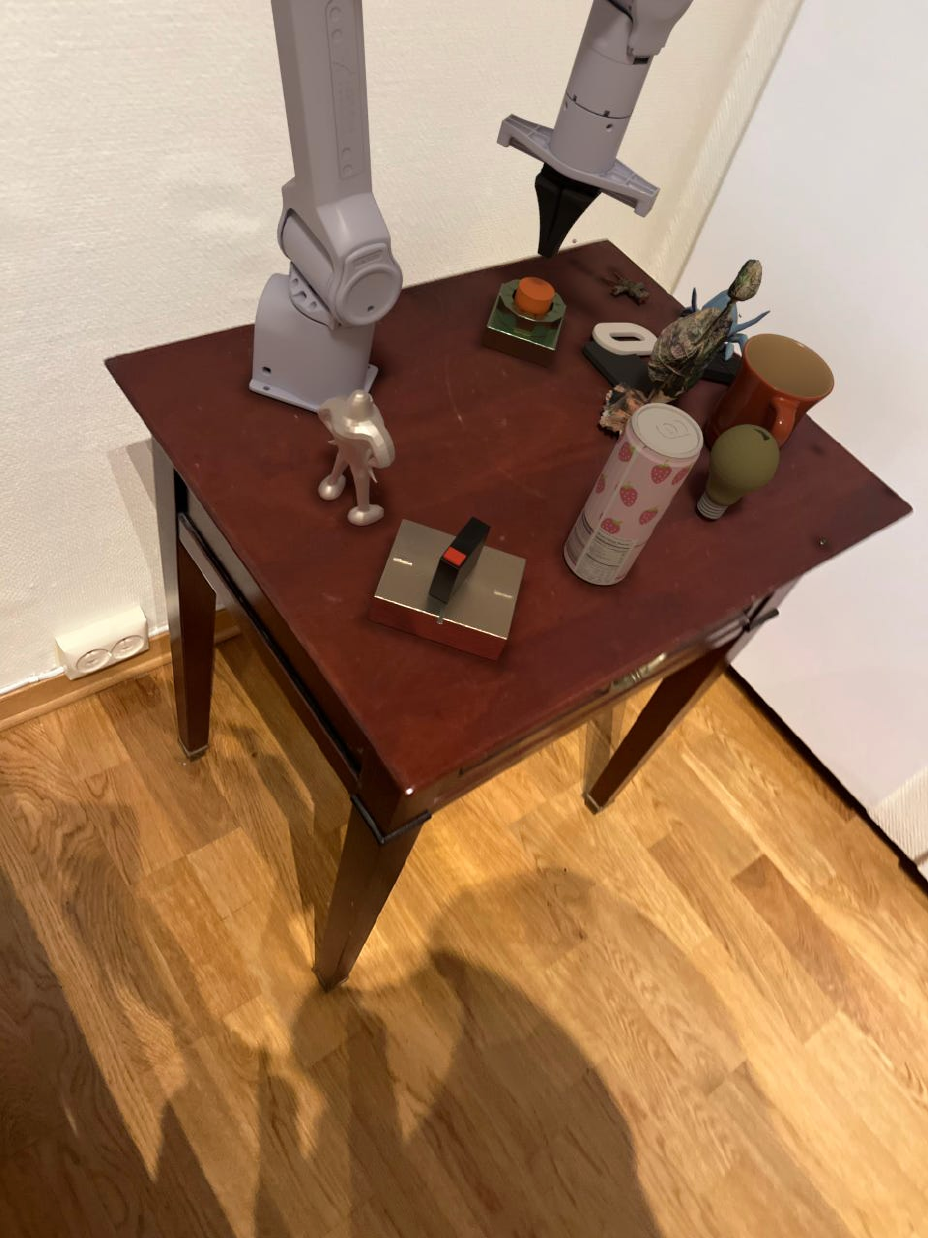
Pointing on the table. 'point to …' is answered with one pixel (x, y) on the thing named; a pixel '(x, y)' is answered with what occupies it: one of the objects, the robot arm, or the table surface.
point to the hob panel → (472, 611)
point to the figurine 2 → (723, 363)
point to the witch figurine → (627, 286)
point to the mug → (771, 388)
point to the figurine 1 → (356, 450)
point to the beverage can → (633, 492)
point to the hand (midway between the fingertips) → (547, 252)
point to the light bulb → (738, 467)
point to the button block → (523, 327)
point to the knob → (459, 559)
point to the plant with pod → (682, 352)
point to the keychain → (621, 368)
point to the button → (534, 295)
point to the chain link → (608, 330)
